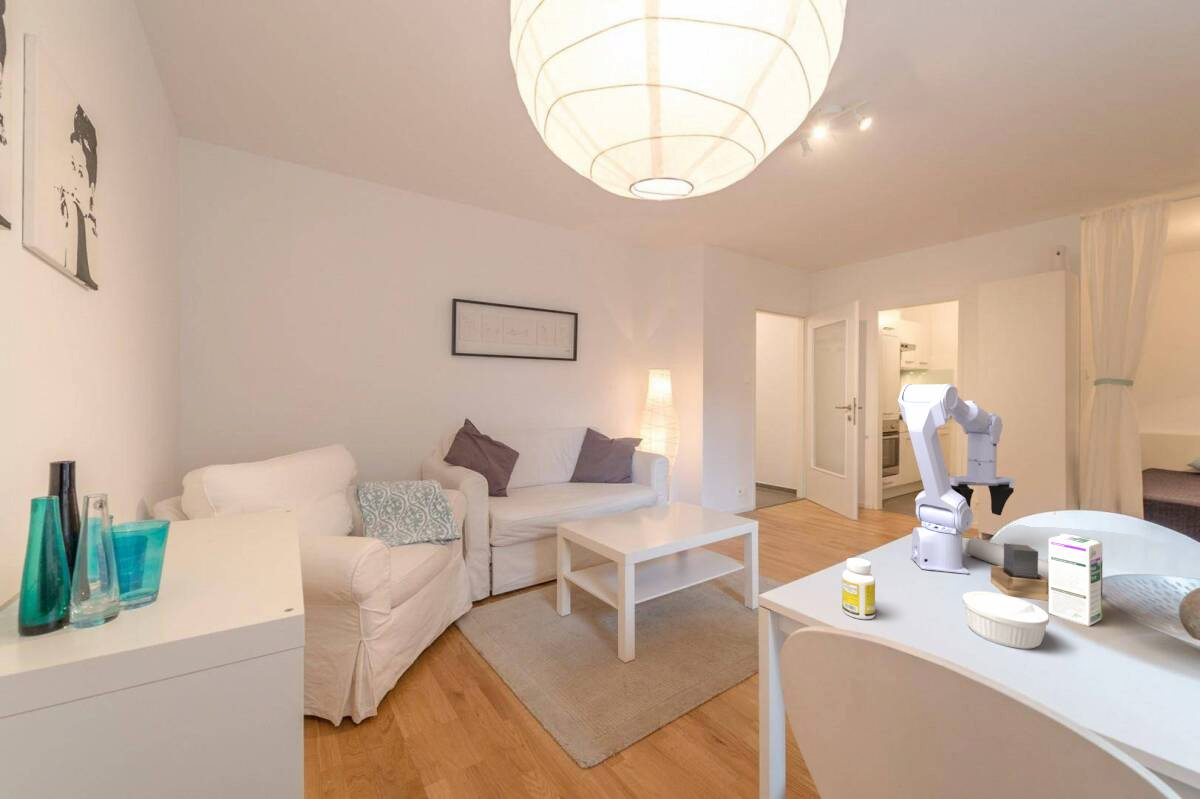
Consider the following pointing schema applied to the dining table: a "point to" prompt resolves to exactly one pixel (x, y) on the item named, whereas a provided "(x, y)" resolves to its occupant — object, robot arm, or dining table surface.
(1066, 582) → the syrup box
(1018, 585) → the oak dock
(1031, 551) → the matte charcoal brick
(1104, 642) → the dining table surface
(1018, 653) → the dining table surface
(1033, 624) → the ramekin
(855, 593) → the supplement bottle
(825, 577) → the dining table surface
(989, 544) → the tube
